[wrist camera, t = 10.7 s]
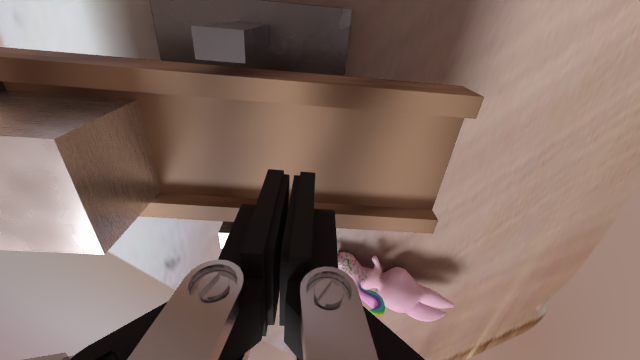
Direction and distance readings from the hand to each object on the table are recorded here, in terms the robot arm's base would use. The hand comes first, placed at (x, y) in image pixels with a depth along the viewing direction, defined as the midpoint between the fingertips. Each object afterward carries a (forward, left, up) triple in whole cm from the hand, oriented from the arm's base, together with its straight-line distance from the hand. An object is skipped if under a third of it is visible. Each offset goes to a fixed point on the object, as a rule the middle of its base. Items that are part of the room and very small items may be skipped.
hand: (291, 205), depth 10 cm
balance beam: (+3, 0, -6) cm, 7 cm away
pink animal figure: (-10, +17, -13) cm, 24 cm away
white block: (+11, +1, -5) cm, 12 cm away
